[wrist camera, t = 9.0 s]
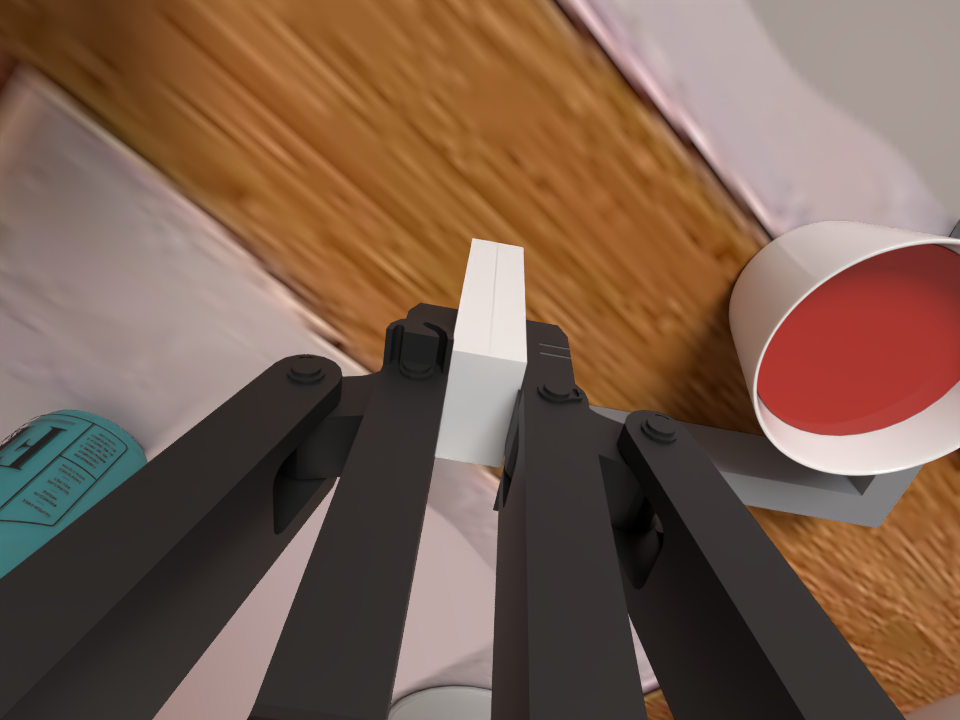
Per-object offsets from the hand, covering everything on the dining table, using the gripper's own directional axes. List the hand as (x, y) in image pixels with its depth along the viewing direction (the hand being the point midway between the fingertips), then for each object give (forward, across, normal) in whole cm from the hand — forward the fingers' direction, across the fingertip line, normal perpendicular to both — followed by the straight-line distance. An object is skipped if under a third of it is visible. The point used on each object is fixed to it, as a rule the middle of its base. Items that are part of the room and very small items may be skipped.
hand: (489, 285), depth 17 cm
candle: (+8, +14, -1) cm, 16 cm away
